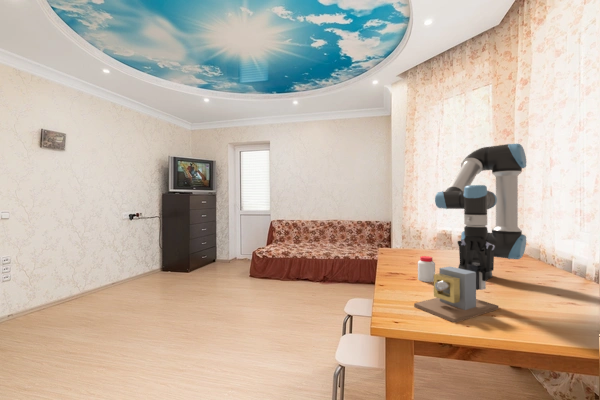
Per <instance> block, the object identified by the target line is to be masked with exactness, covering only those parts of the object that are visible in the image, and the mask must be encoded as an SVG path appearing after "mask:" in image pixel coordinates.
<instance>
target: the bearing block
mask: <svg viewBox="0 0 600 400" xmlns="http://www.w3.org/2000/svg"><path fill="white" fill-rule="evenodd" d="M439 273H440V274H444V275H448V276H452V277H455V278H459V279H460V302H457V303H452V302H449V301H446V300H443V299H440V298H437V297H434V298H431V299H425V300H422V301H419V302H414V303H413V306H414V308H416V309H419V310H422V311H425V312H426V313H430V314H432V315H434V316H437V317H439V318H442V319H444V320H447V321H449V322H452V323H455V324H456V323H458V322H462V321H464V320H468V319H471V318H474V317H478V316H481V315H484V314H486V313H490V312H494V311H496V310H499V305H498V304H495V303H491V302H488V301H484V300H481V299H477V290H476V272H473V271H469V270H464V269H459V268H458V267H454V266H446V267H445V266H444V267H440V268H439ZM443 292H444V293H447V294H450V289H447V290H443Z"/></svg>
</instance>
